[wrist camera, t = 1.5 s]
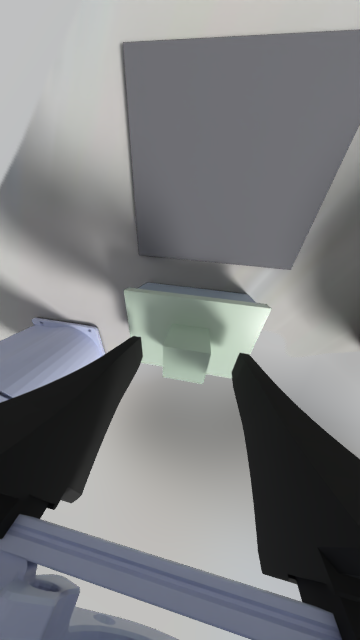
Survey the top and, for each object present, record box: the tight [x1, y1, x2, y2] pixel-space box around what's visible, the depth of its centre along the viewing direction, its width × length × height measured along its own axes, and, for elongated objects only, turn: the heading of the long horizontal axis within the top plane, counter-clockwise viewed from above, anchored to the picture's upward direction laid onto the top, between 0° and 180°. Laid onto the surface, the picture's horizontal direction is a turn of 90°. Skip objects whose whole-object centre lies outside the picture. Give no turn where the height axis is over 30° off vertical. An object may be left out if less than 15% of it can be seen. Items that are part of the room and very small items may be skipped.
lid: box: [124, 288, 271, 384], centre depth 10 cm, size 11×8×4 cm
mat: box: [123, 30, 360, 270], centre depth 9 cm, size 13×10×1 cm
